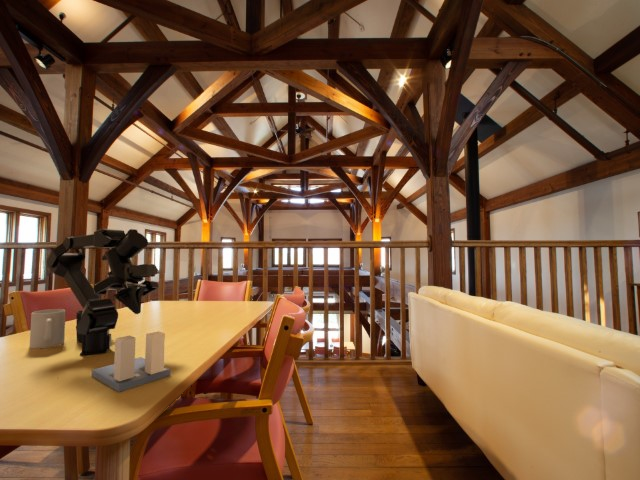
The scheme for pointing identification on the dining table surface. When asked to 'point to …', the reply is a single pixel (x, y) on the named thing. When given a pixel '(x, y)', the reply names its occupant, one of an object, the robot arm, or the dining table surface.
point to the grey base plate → (139, 378)
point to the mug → (47, 328)
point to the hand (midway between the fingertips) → (138, 313)
